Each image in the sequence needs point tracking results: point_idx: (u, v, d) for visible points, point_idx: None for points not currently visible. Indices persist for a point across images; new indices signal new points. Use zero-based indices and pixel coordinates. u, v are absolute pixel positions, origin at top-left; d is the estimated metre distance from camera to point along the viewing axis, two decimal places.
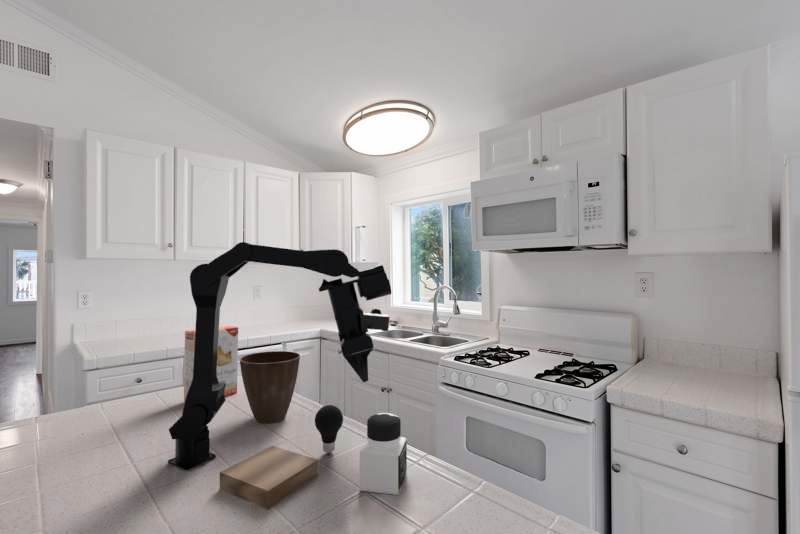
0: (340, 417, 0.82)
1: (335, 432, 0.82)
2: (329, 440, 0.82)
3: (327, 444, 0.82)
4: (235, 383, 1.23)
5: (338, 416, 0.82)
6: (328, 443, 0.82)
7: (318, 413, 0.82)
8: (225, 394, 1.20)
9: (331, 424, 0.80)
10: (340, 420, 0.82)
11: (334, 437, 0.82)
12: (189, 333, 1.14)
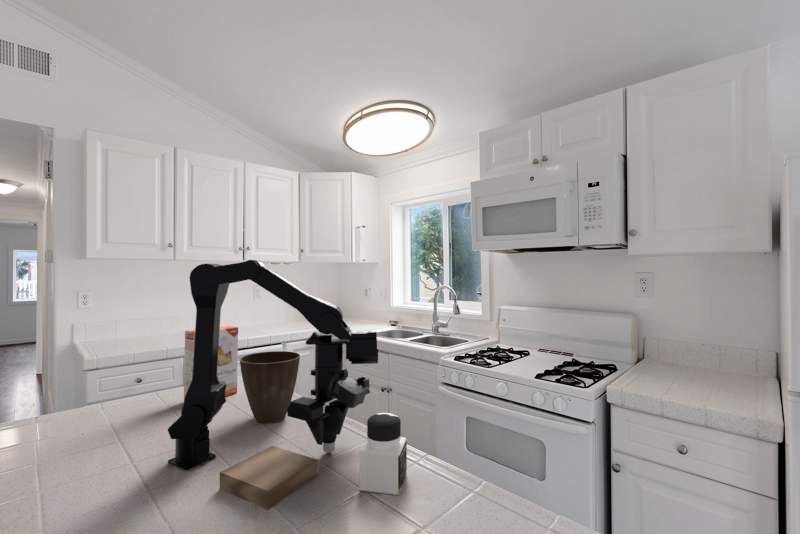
0: (340, 417, 0.82)
1: (335, 432, 0.82)
2: (329, 440, 0.82)
3: (327, 444, 0.82)
4: (235, 383, 1.23)
5: (338, 416, 0.82)
6: (328, 443, 0.82)
7: None
8: (225, 394, 1.20)
9: (331, 424, 0.80)
10: (340, 420, 0.82)
11: (334, 437, 0.82)
12: (189, 333, 1.14)
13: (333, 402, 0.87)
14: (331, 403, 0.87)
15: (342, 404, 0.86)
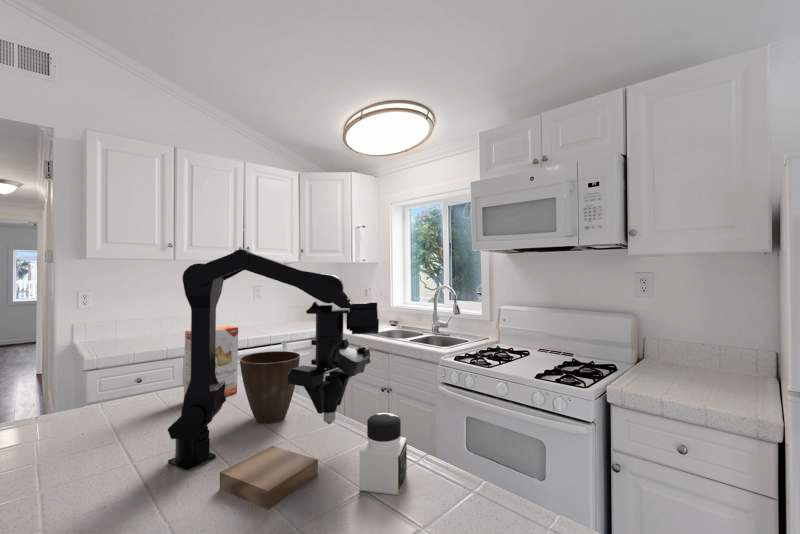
0: (340, 387, 0.82)
1: (335, 402, 0.82)
2: (329, 410, 0.82)
3: (327, 413, 0.82)
4: (235, 383, 1.23)
5: (339, 386, 0.82)
6: (328, 413, 0.82)
7: None
8: (225, 394, 1.20)
9: (331, 393, 0.81)
10: (341, 390, 0.82)
11: (334, 407, 0.82)
12: (189, 333, 1.14)
13: (334, 373, 0.87)
14: (331, 374, 0.87)
15: (342, 375, 0.86)
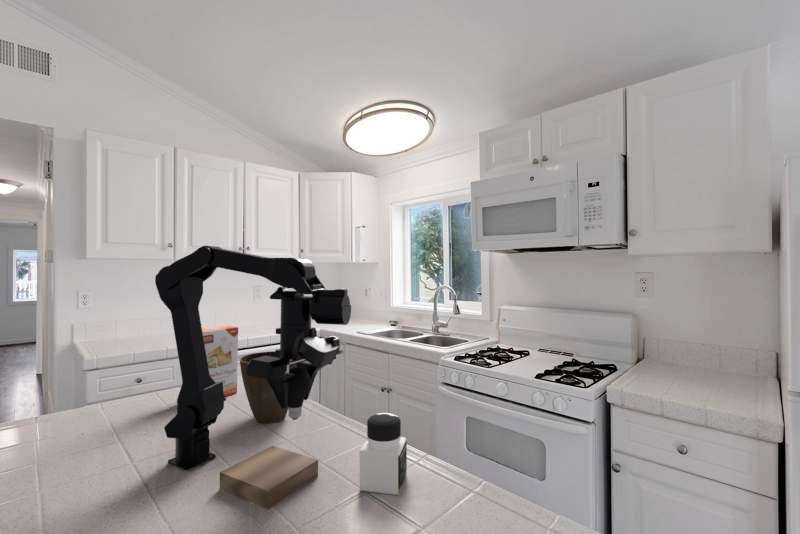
0: (307, 379, 0.75)
1: (301, 396, 0.75)
2: (295, 404, 0.75)
3: (292, 408, 0.75)
4: (235, 383, 1.23)
5: (305, 378, 0.75)
6: (294, 408, 0.75)
7: None
8: (225, 394, 1.20)
9: (297, 387, 0.74)
10: (307, 383, 0.75)
11: (300, 401, 0.76)
12: None
13: (301, 365, 0.80)
14: (299, 366, 0.80)
15: (310, 367, 0.79)
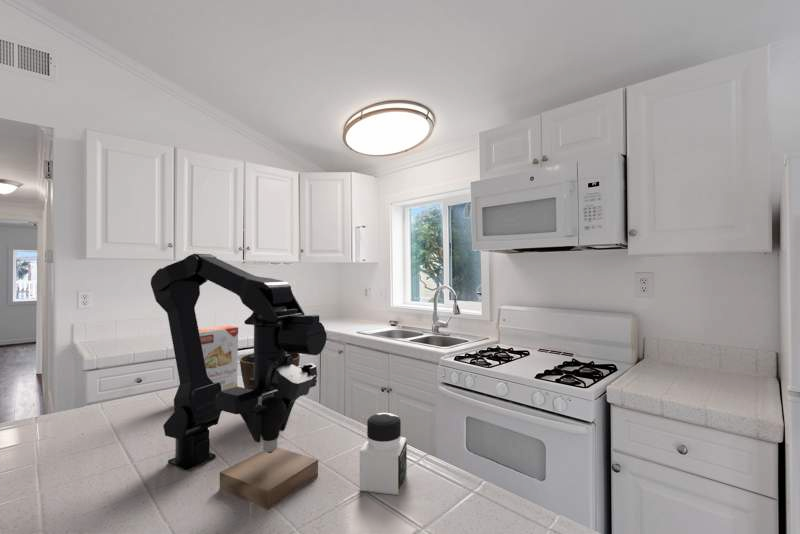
0: (282, 410, 0.71)
1: (276, 428, 0.71)
2: (269, 437, 0.71)
3: (267, 441, 0.71)
4: (235, 383, 1.23)
5: (280, 409, 0.71)
6: (268, 440, 0.71)
7: None
8: None
9: (270, 419, 0.69)
10: (283, 414, 0.71)
11: (275, 434, 0.71)
12: None
13: (278, 394, 0.76)
14: (276, 395, 0.76)
15: None
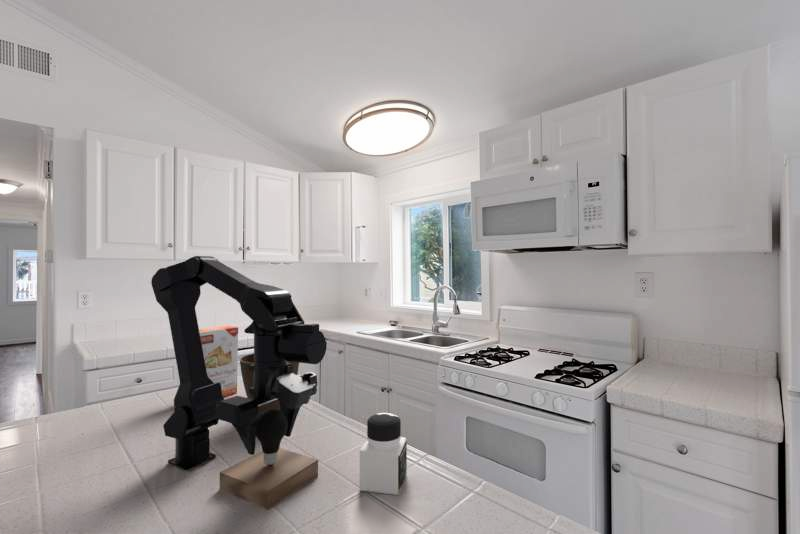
0: (282, 423, 0.71)
1: (277, 441, 0.71)
2: (270, 450, 0.71)
3: (267, 454, 0.71)
4: (235, 383, 1.23)
5: (281, 422, 0.71)
6: (269, 453, 0.71)
7: None
8: (225, 394, 1.20)
9: (271, 432, 0.69)
10: (283, 427, 0.71)
11: (276, 446, 0.71)
12: None
13: None
14: (281, 401, 0.77)
15: None
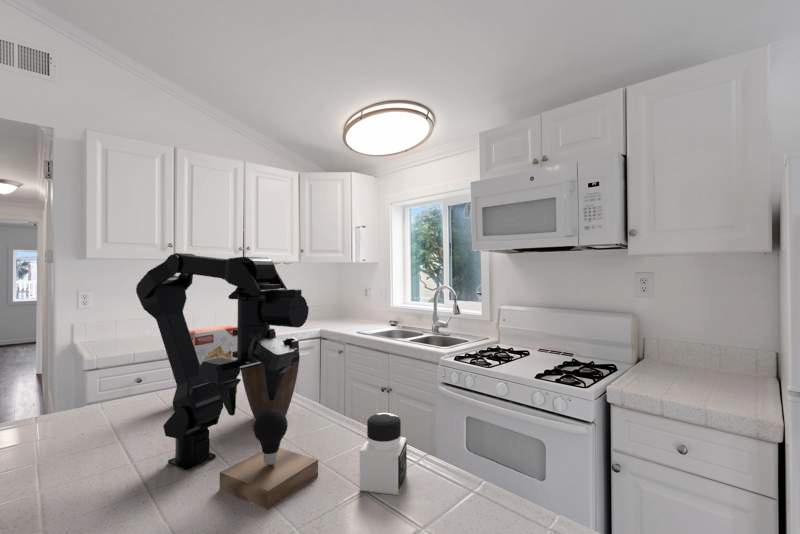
0: (282, 423, 0.71)
1: (277, 441, 0.71)
2: (270, 450, 0.71)
3: (267, 454, 0.71)
4: None
5: (281, 422, 0.71)
6: (268, 454, 0.71)
7: (257, 419, 0.71)
8: None
9: (271, 432, 0.69)
10: (283, 427, 0.71)
11: (276, 447, 0.71)
12: None
13: None
14: (266, 367, 0.80)
15: None
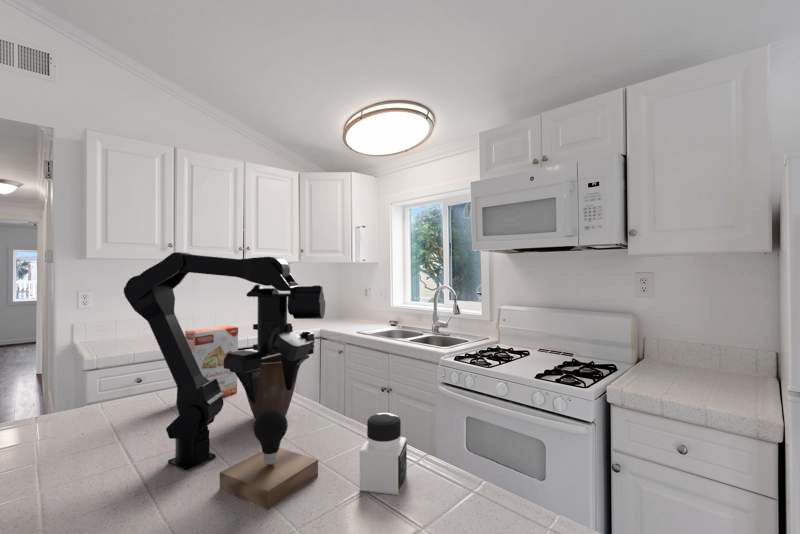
0: (282, 423, 0.71)
1: (277, 441, 0.71)
2: (270, 450, 0.71)
3: (267, 454, 0.71)
4: (235, 383, 1.23)
5: (281, 422, 0.71)
6: (269, 454, 0.71)
7: (257, 419, 0.71)
8: (225, 394, 1.20)
9: (271, 432, 0.69)
10: (283, 427, 0.71)
11: (276, 447, 0.71)
12: (189, 333, 1.14)
13: (285, 358, 0.85)
14: (283, 359, 0.86)
15: None
